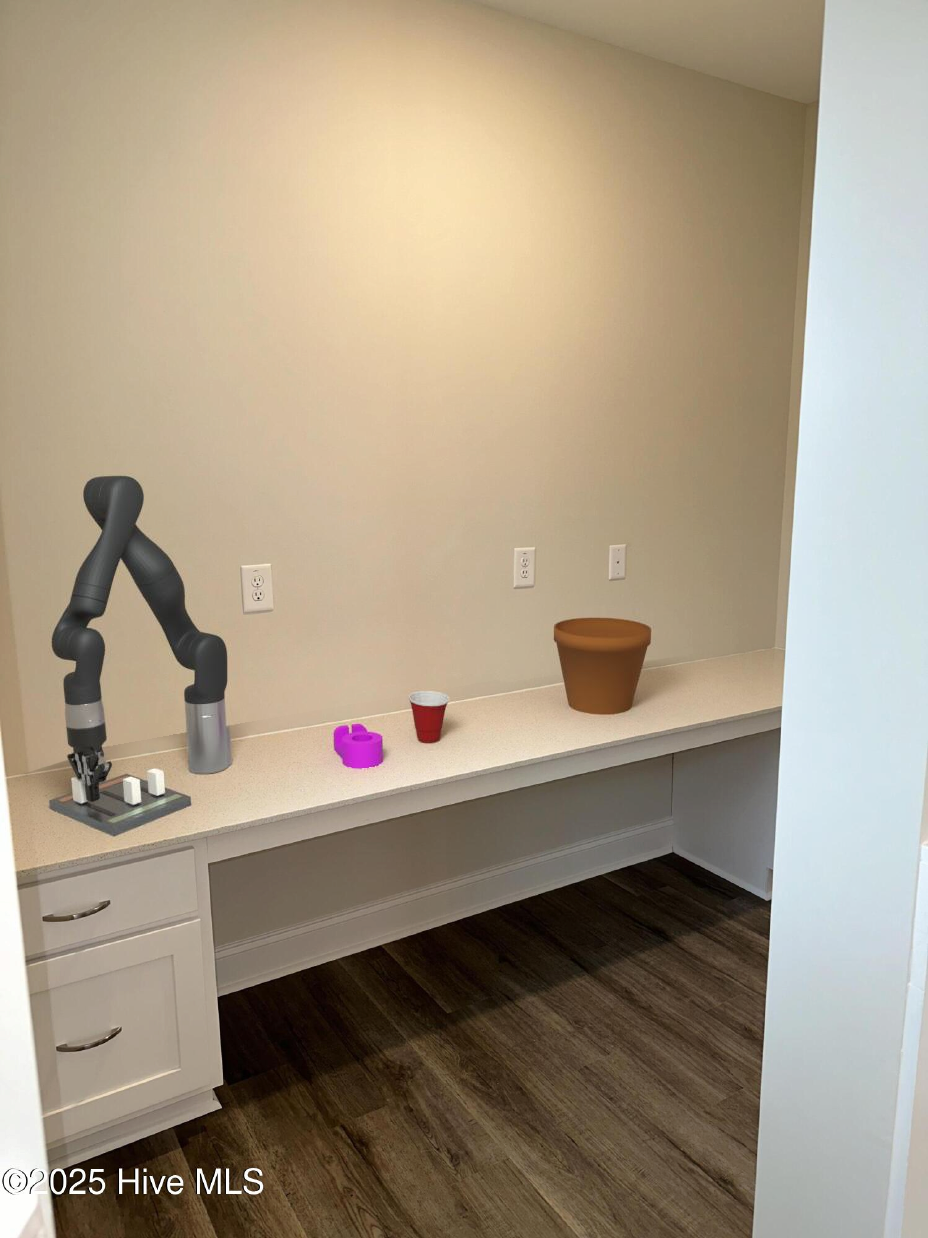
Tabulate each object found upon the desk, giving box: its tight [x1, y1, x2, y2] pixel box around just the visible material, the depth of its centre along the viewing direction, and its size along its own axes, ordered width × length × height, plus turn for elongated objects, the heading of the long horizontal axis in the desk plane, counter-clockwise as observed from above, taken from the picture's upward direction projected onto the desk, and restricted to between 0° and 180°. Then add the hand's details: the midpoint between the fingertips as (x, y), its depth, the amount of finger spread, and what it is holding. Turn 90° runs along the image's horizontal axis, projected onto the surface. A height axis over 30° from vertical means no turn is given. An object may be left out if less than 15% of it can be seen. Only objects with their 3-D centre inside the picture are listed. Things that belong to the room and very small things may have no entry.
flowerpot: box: [553, 617, 652, 716], centre depth 269 cm, size 28×28×24 cm
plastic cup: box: [408, 690, 451, 744], centre depth 240 cm, size 11×11×12 cm
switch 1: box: [71, 775, 88, 804], centre depth 195 cm, size 2×3×5 cm, turn 55°
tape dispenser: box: [333, 723, 384, 770], centre depth 228 cm, size 16×10×6 cm, turn 24°
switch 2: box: [146, 768, 166, 796], centre depth 200 cm, size 2×3×5 cm, turn 54°
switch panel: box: [48, 773, 192, 837], centre depth 198 cm, size 19×23×2 cm
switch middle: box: [123, 777, 141, 805], centre depth 195 cm, size 2×3×5 cm, turn 54°
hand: (93, 800), depth 193 cm, fingers closed
